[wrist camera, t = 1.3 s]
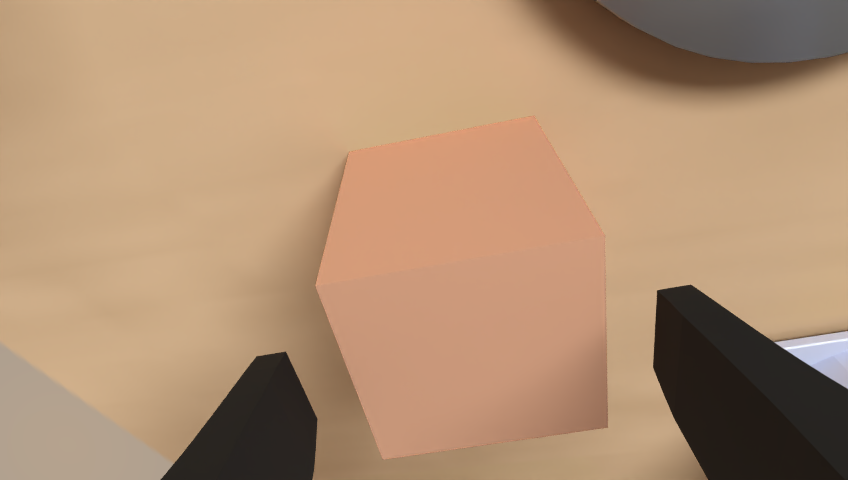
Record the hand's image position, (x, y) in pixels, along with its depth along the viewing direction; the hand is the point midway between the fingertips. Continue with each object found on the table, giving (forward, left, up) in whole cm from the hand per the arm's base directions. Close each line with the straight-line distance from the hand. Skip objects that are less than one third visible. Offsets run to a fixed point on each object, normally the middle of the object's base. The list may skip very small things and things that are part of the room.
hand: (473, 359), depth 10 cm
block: (0, 0, -6) cm, 6 cm away
